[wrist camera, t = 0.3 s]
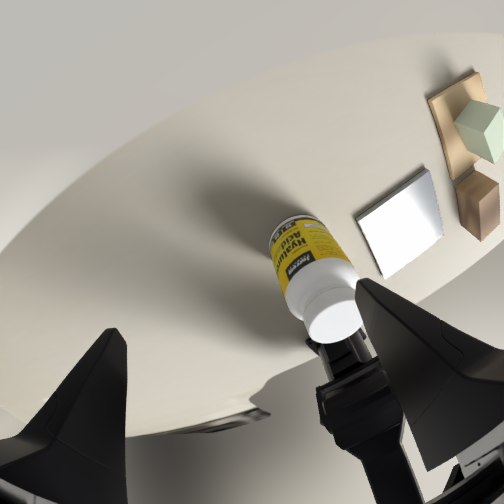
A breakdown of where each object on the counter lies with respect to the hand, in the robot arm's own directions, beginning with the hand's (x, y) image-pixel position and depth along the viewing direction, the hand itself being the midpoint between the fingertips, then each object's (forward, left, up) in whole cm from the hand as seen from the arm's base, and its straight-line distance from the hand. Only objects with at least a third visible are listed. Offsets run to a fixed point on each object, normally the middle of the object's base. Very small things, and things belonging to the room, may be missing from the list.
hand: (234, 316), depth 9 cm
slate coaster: (-14, -12, -13) cm, 23 cm away
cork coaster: (-8, -24, -13) cm, 29 cm away
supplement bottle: (-8, -2, -14) cm, 16 cm away
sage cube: (-8, -24, -13) cm, 29 cm away
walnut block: (-17, -22, -13) cm, 31 cm away
